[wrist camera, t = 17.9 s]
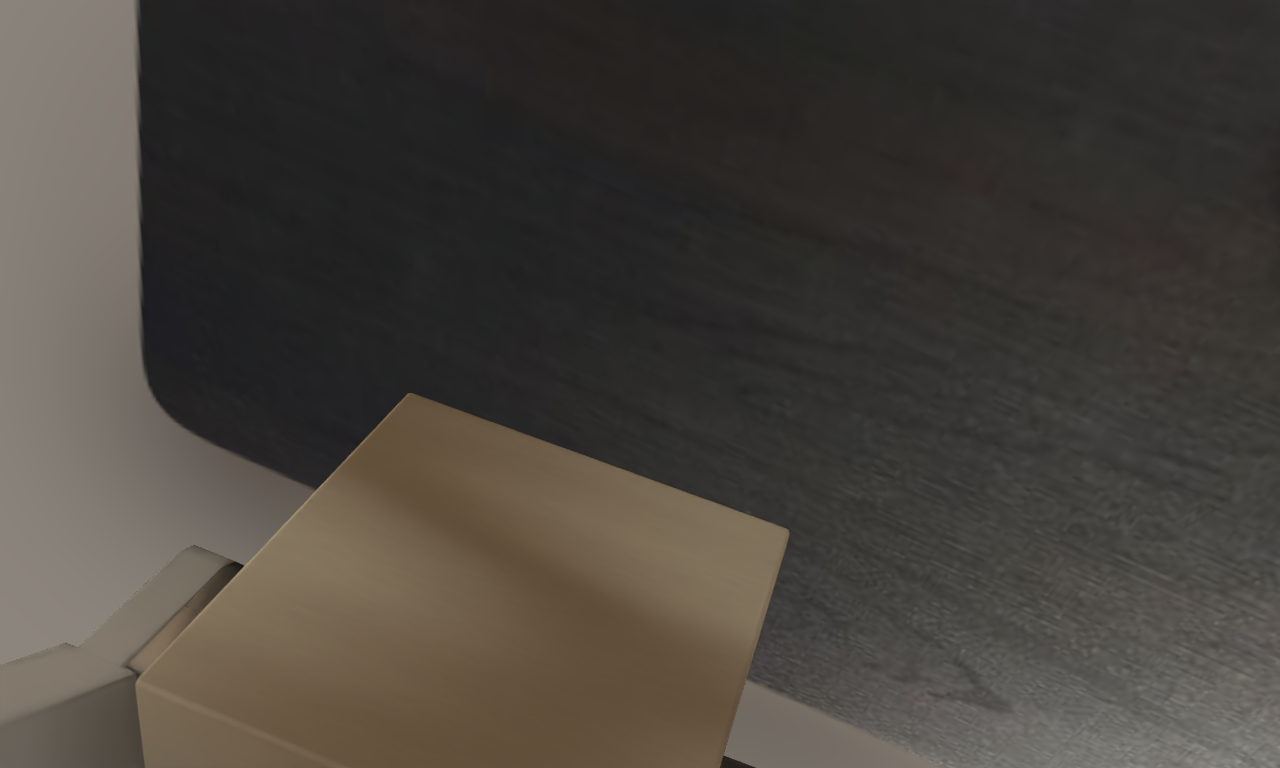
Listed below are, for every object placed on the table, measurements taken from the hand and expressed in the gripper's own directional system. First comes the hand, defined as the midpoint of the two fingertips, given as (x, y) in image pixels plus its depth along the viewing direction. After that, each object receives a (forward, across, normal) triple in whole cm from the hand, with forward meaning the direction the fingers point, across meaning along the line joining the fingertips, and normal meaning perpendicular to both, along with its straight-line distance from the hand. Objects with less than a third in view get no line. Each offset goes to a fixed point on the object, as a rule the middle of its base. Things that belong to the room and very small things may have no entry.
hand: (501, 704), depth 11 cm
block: (+2, 0, 0) cm, 2 cm away
